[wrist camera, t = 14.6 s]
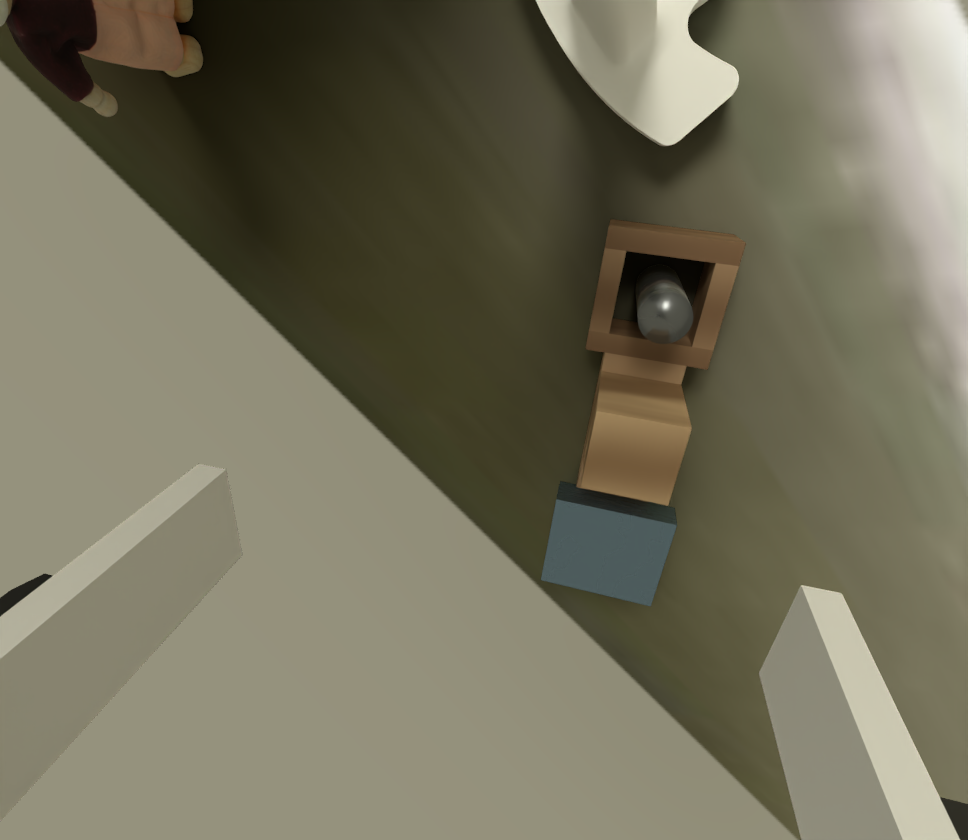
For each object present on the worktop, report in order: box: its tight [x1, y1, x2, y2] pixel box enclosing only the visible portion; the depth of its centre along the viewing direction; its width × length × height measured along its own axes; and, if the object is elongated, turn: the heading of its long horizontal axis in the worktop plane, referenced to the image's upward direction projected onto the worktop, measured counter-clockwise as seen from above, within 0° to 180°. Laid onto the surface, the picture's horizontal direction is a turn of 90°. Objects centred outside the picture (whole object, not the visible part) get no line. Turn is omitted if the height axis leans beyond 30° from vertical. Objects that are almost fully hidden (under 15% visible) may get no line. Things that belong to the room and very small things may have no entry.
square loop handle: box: [576, 219, 746, 506], centre depth 27 cm, size 15×6×8 cm, turn 174°
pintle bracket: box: [541, 264, 693, 606], centre depth 29 cm, size 17×6×6 cm, turn 174°
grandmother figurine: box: [0, 0, 203, 117], centre depth 23 cm, size 8×4×13 cm, turn 8°
